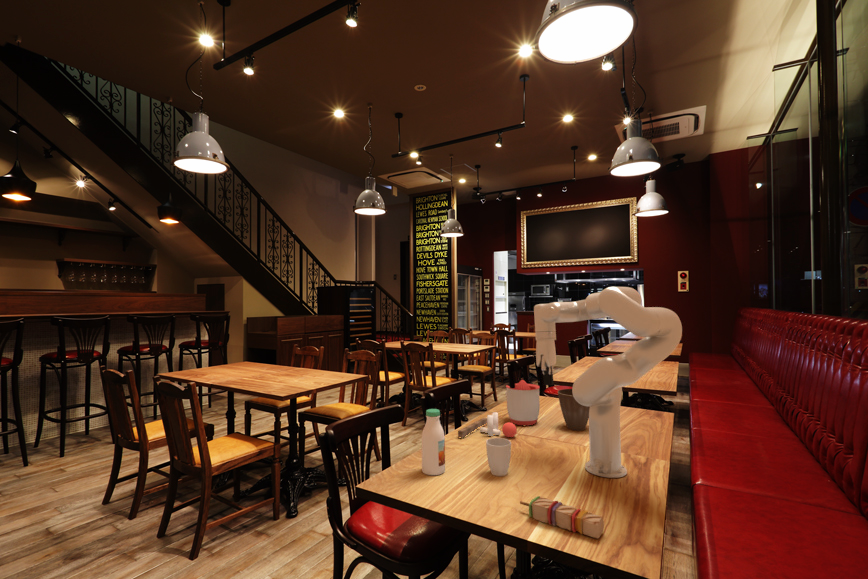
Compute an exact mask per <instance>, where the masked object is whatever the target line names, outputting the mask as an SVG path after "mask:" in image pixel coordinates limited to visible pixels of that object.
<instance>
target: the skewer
mask: <svg viewBox="0 0 868 579" xmlns="http://www.w3.org/2000/svg"><path fill="white" fill-rule="evenodd" d="M519 504H520V505H523V506H526V507H528V515H529V517H530V518H533V519H535V520H536V521H539V522H542V523H546V524H548V525H550V526H551V525H552V526H553V527H556V526H558V528H561V529H565V530H568V531H570V532H571V531H572V532H573V533H576V532H578V533H579V534H580V535H581V536H582V535H585V536H588V537H591V538H593V539H599V538H600V537H601V535H602V534H603V533H604V528H605V527H604V517H603V516H601V515H599V514H594V513H592V512H589V511H588V510H585V509H582V510H581V509H580V508H576V507H575V506H573V505H566V504H563V503H562V502H561V501H558V500H551V499H549V498H546V497H543V496H535V497H534V498H532V499H531V501H529V503H528V502H525V501H521V500H520V501H519Z"/></svg>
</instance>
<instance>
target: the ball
mask: <svg viewBox="0 0 868 579" xmlns="http://www.w3.org/2000/svg"><path fill="white" fill-rule="evenodd" d="M501 431H502V434H503V435H504V436H505V437H506V438H509V437H511V438H513V437H515V436H516V435H517V432H518V430H517V426H516V424H513V423H512V422H511V421H509V422H505V423H504V424H503V425H502V430H501Z"/></svg>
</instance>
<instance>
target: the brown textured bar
mask: <svg viewBox="0 0 868 579" xmlns="http://www.w3.org/2000/svg"><path fill="white" fill-rule="evenodd" d="M486 423H487V417H483V418H480V419H478V420H477V421H474V422H472V423H471V424H469V425H466V426H465V427H463V428H461V429H459V430H457V437H461V438H463V437H465V436H466V435H468V434H469V433H471V432H472V431H474V430H475V429H477V428H478V427H480V426H482V425H484V424H486ZM465 438H466V437H465ZM463 439H464V438H463Z"/></svg>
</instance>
